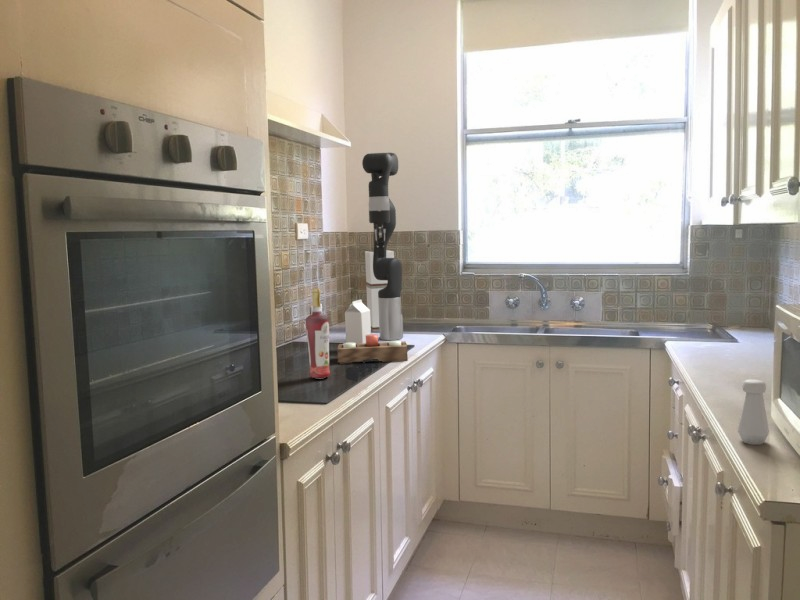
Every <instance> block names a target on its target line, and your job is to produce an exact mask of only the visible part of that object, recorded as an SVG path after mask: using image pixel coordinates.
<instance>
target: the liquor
mask: <svg viewBox="0 0 800 600" xmlns="http://www.w3.org/2000/svg"><path fill="white" fill-rule="evenodd" d="M311 298H312V308H311V309H312V311H311V314H310V315H309V316H307V317H306V318H305V329H306V330H305V331H306V339H307V340H306V341H307V348H308V361H309V374H308V376H309V377H310V378H312V379H313V378H324V377H328V376H331V374H332V373H331V371H330V317H329V316H327V314H324V313H323V312H322V305H321V289H320V288H312V289H311ZM328 378H329V377H328Z"/></svg>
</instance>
